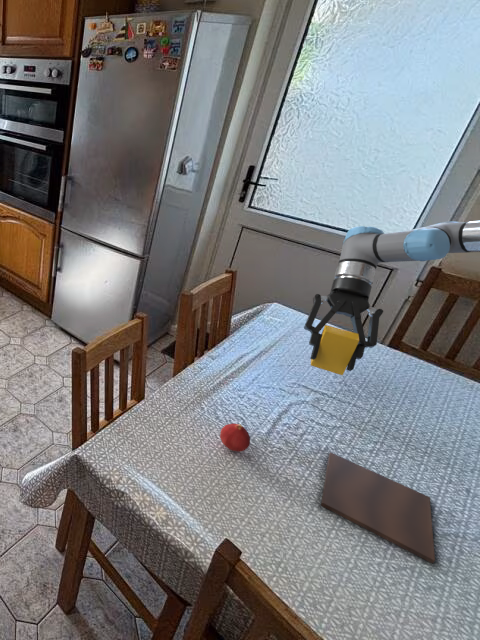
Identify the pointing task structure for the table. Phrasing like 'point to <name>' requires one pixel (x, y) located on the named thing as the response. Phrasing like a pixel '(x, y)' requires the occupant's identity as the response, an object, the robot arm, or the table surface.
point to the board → (379, 506)
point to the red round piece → (235, 437)
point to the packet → (335, 349)
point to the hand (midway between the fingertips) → (331, 363)
